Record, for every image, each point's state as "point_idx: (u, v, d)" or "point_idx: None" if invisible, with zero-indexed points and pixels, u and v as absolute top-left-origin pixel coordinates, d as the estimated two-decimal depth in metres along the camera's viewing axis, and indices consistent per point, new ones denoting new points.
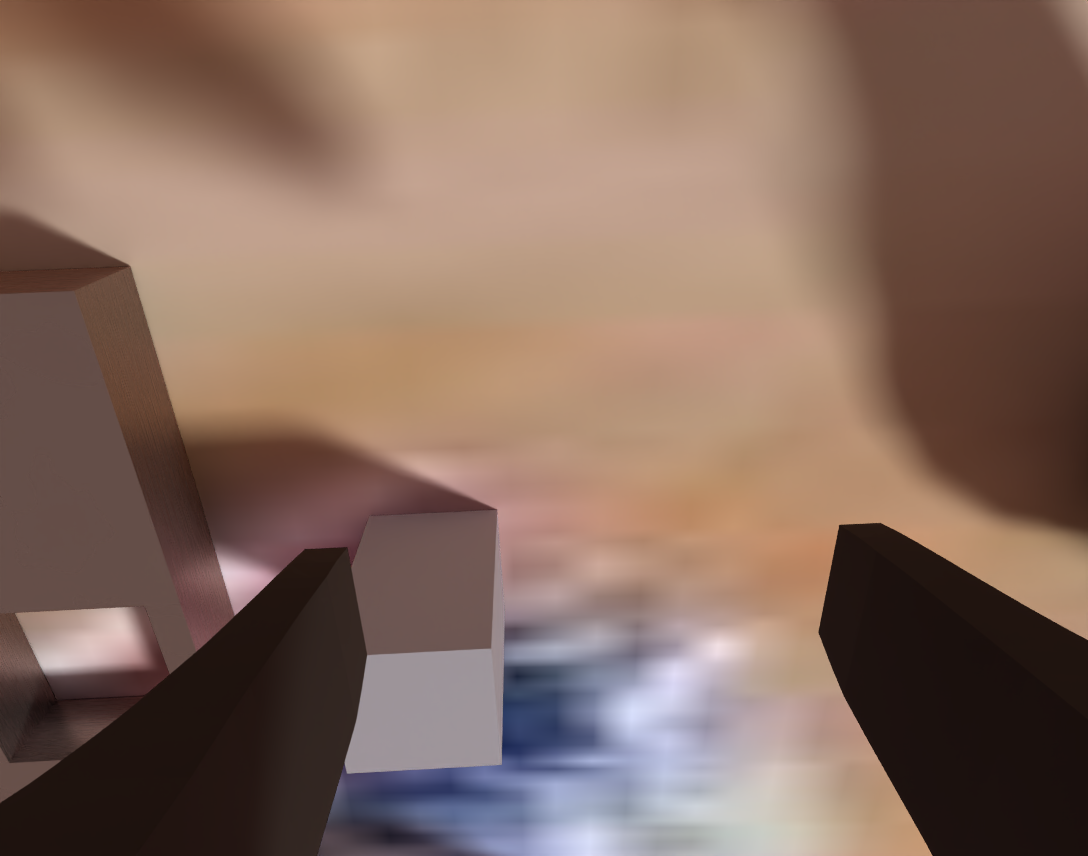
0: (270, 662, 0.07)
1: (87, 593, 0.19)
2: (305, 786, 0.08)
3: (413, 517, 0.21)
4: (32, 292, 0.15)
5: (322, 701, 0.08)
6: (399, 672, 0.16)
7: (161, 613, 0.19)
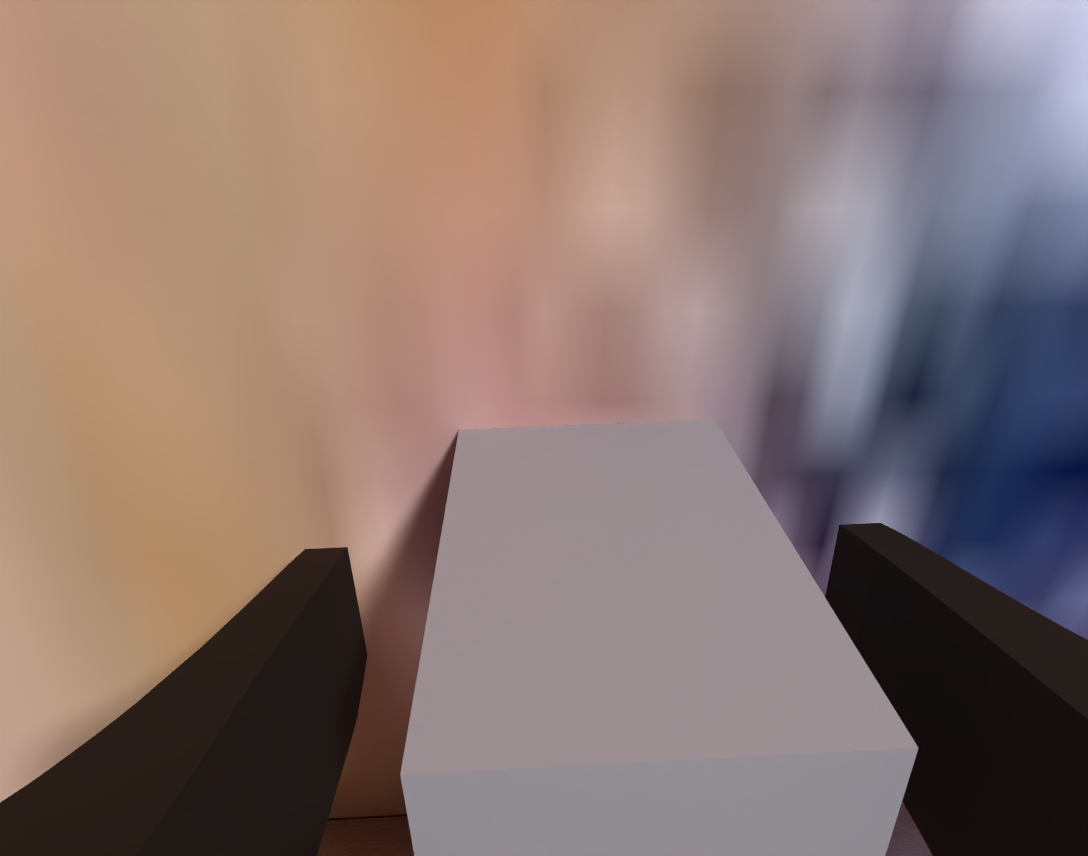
0: (270, 662, 0.07)
1: None
2: (305, 786, 0.08)
3: None
4: None
5: (322, 701, 0.08)
6: None
7: None
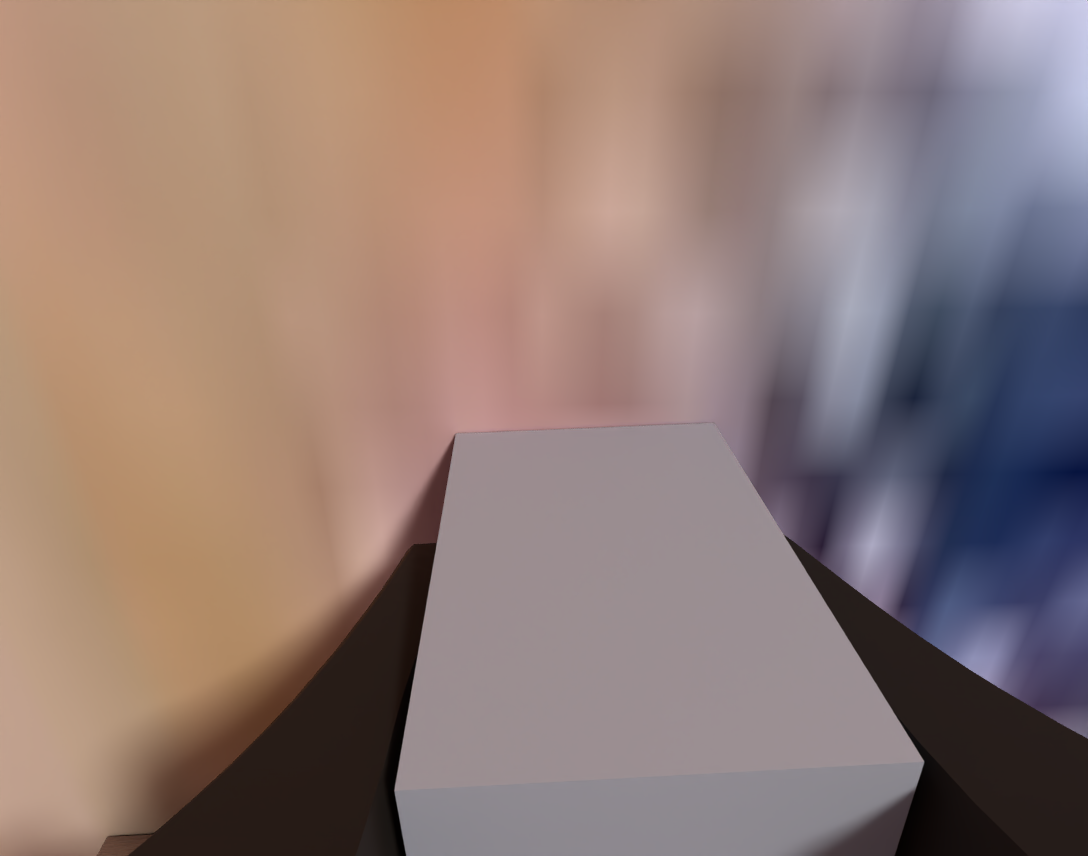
0: None
1: None
2: None
3: None
4: None
5: None
6: None
7: None
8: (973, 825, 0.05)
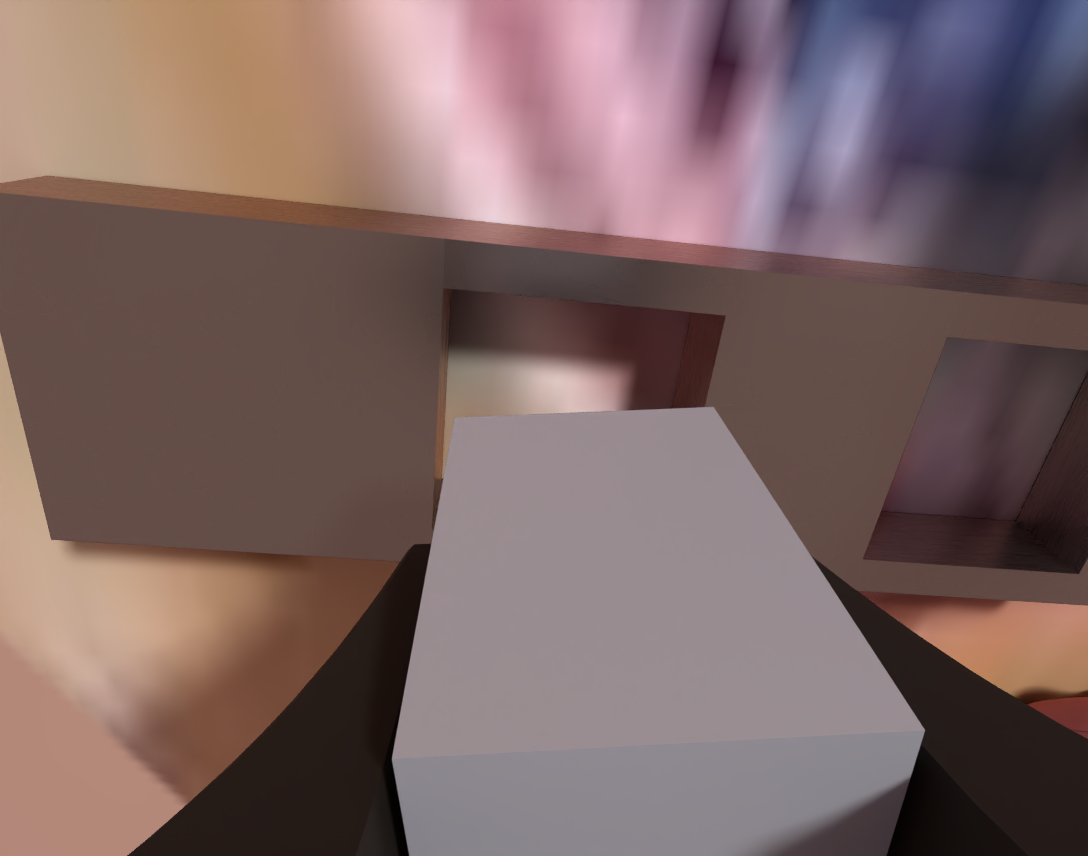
0: None
1: (415, 351, 0.15)
2: None
3: None
4: None
5: None
6: None
7: (458, 270, 0.14)
8: (972, 825, 0.05)
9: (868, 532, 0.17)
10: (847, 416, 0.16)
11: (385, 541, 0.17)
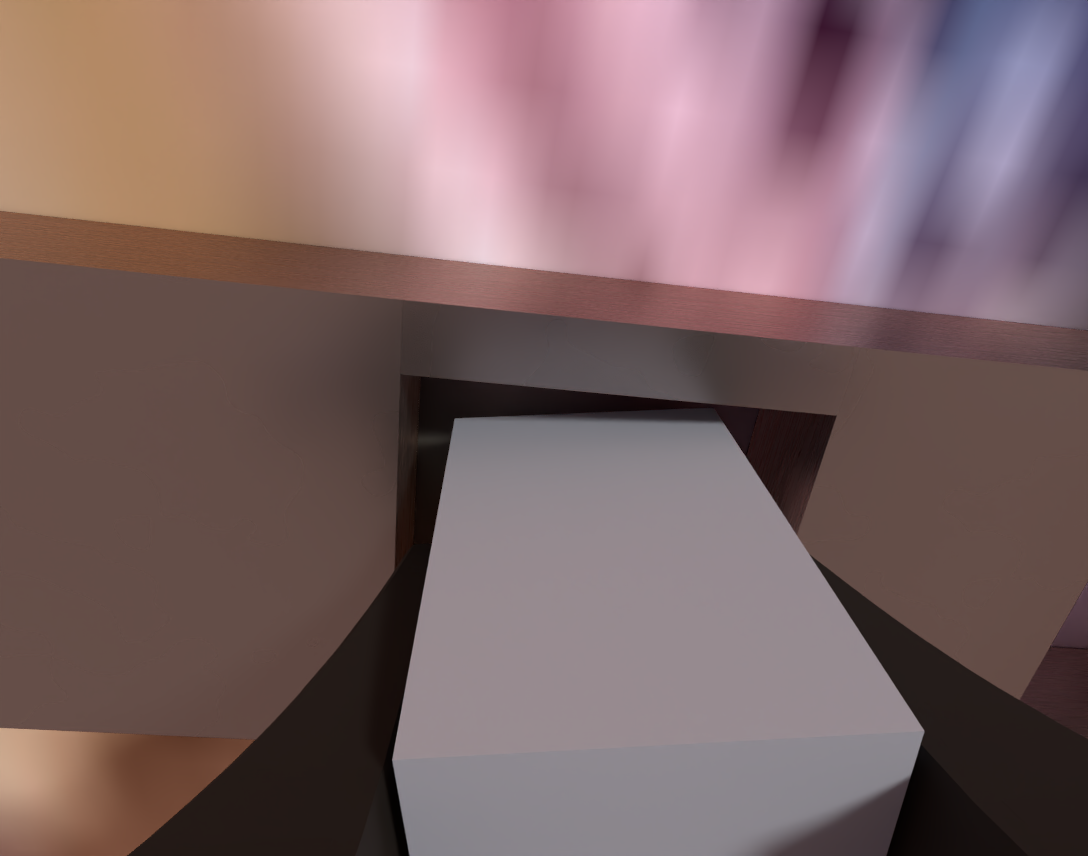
0: None
1: (358, 465, 0.09)
2: None
3: None
4: None
5: None
6: None
7: (425, 348, 0.09)
8: (973, 825, 0.05)
9: None
10: (1001, 555, 0.11)
11: None
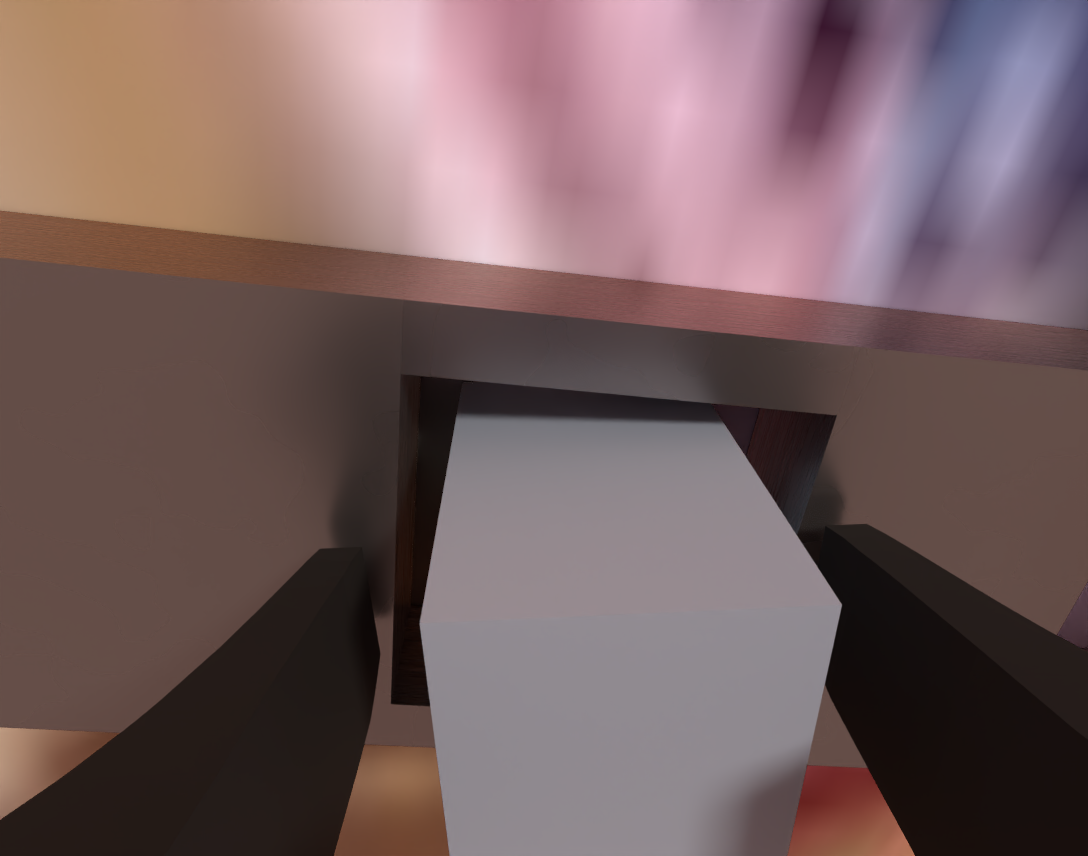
0: (290, 661, 0.07)
1: (359, 465, 0.09)
2: (323, 785, 0.08)
3: None
4: None
5: (339, 700, 0.08)
6: (496, 780, 0.07)
7: (425, 348, 0.09)
8: None
9: None
10: (1001, 555, 0.11)
11: None
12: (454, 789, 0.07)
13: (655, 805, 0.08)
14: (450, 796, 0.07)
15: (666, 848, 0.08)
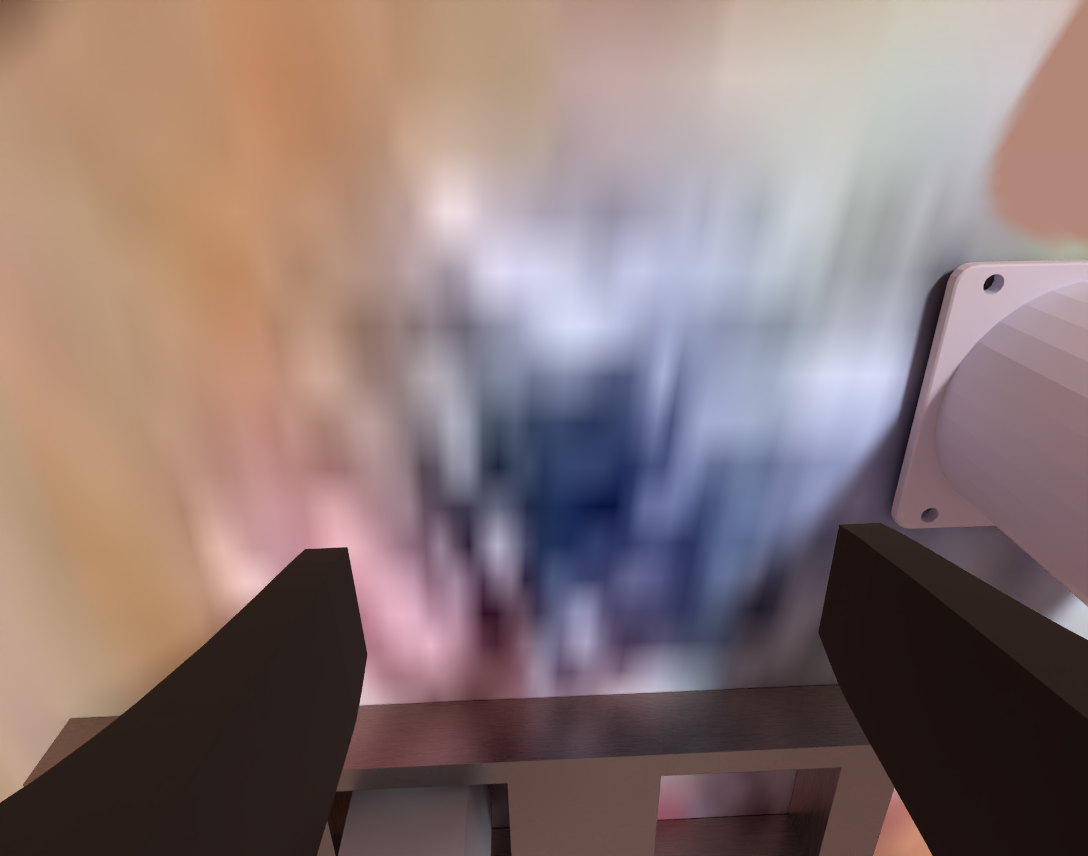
0: (270, 662, 0.07)
1: None
2: (305, 786, 0.08)
3: None
4: None
5: (322, 701, 0.08)
6: None
7: None
8: None
9: None
10: (609, 819, 0.23)
11: None
12: None
13: None
14: None
15: None
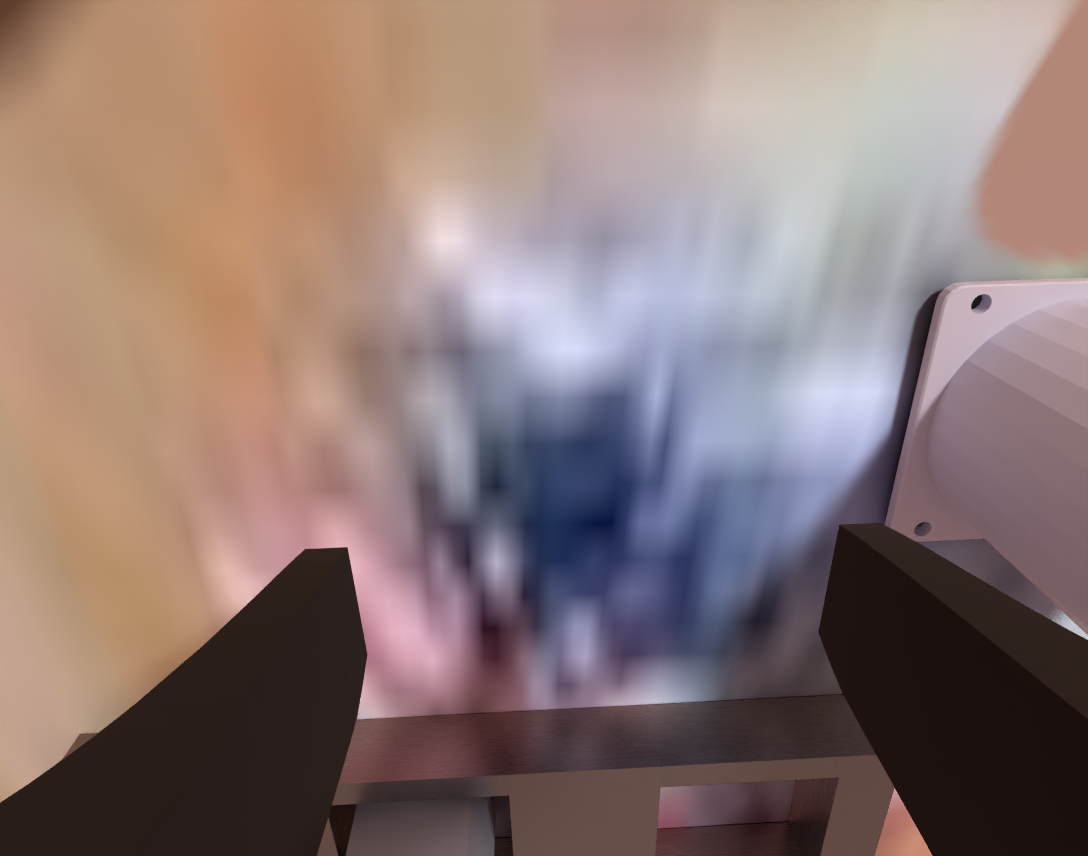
0: (270, 662, 0.07)
1: None
2: (305, 786, 0.08)
3: None
4: None
5: (322, 701, 0.08)
6: None
7: None
8: None
9: None
10: (609, 830, 0.23)
11: None
12: None
13: None
14: None
15: None
